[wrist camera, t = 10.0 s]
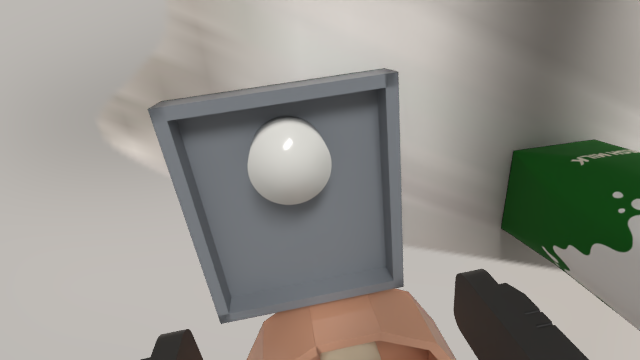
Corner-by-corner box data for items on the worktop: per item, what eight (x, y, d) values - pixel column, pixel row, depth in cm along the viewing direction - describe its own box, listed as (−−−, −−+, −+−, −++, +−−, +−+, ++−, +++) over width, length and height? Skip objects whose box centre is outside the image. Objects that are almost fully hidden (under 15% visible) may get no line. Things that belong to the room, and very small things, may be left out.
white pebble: (242, 122, 21) (238, 133, 18) (319, 110, 21) (326, 119, 19) (258, 192, 23) (256, 211, 20) (328, 180, 23) (335, 197, 21)
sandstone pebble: (314, 323, 28) (318, 351, 26) (369, 312, 29) (379, 338, 26) (320, 362, 31) (325, 391, 28) (372, 351, 31) (382, 379, 28)
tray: (161, 101, 20) (147, 109, 18) (384, 68, 22) (398, 71, 19) (224, 299, 27) (220, 323, 25) (392, 266, 28) (403, 286, 26)
